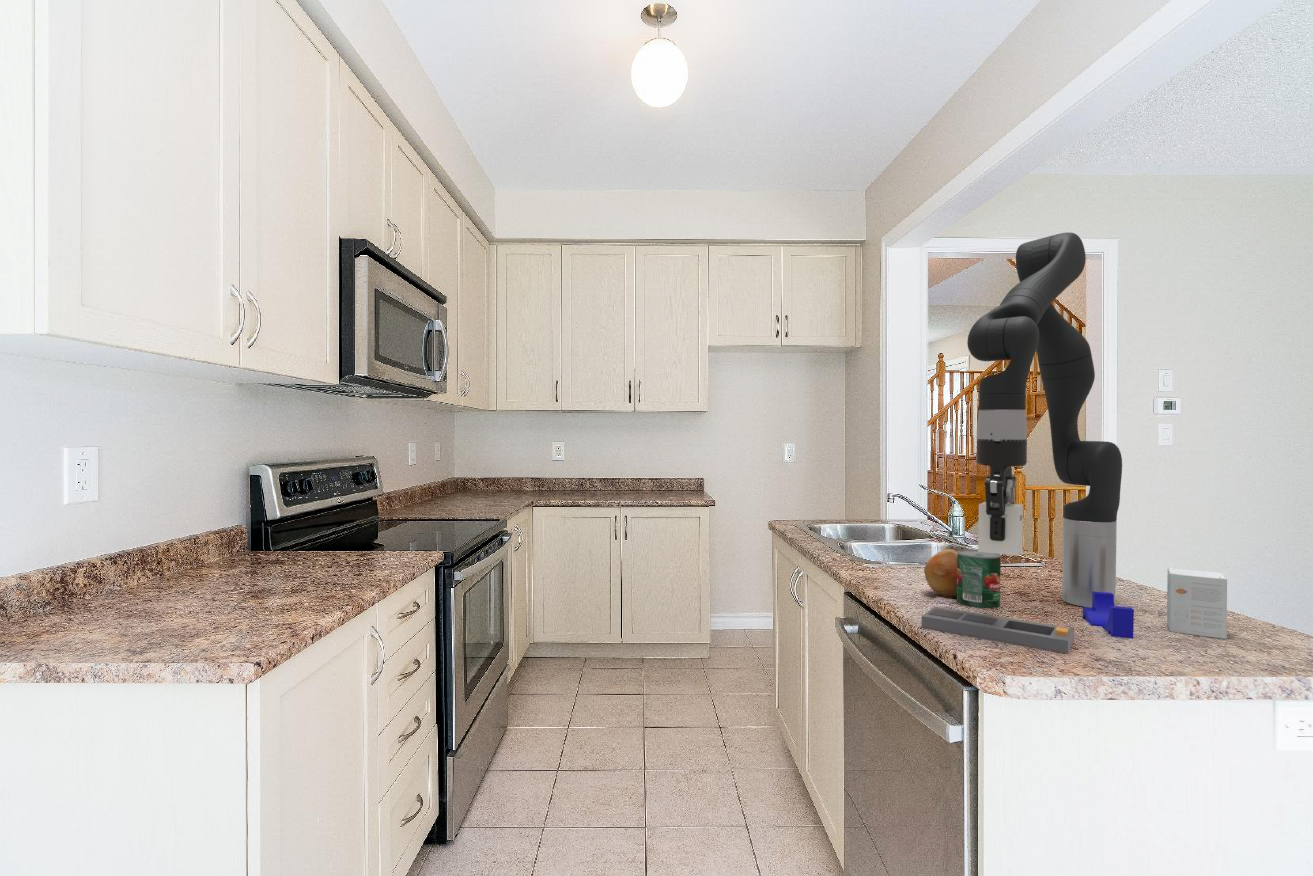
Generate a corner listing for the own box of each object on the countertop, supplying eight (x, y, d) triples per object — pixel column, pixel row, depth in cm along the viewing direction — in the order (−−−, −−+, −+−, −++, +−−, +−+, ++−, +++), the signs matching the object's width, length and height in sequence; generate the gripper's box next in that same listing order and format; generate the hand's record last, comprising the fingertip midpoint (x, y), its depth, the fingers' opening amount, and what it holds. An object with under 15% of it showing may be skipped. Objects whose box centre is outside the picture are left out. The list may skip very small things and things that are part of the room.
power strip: (934, 622, 124) (934, 603, 124) (1074, 646, 111) (1074, 625, 111) (921, 633, 118) (921, 612, 118) (1067, 660, 104) (1068, 637, 104)
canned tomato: (954, 601, 139) (954, 548, 139) (996, 604, 137) (997, 550, 137) (959, 611, 132) (959, 555, 132) (1003, 615, 129) (1004, 558, 129)
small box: (1222, 631, 119) (1223, 572, 119) (1227, 640, 115) (1228, 578, 114) (1166, 624, 124) (1167, 567, 124) (1168, 632, 119) (1169, 572, 119)
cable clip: (1082, 622, 125) (1082, 590, 125) (1110, 625, 124) (1111, 592, 123) (1101, 642, 114) (1102, 607, 114) (1133, 645, 112) (1133, 609, 112)
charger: (983, 547, 117) (984, 502, 117) (1023, 552, 114) (1023, 504, 114) (978, 551, 114) (978, 504, 114) (1018, 556, 110) (1019, 507, 110)
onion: (922, 589, 150) (922, 544, 149) (971, 593, 147) (972, 547, 146) (925, 600, 140) (926, 552, 140) (978, 604, 137) (978, 555, 137)
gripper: (985, 436, 121) (984, 531, 122) (968, 437, 110) (966, 542, 110) (1033, 437, 117) (1031, 535, 117) (1019, 438, 105) (1018, 547, 106)
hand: (1000, 538), depth 114 cm, fingers closed on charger, 4 cm apart
